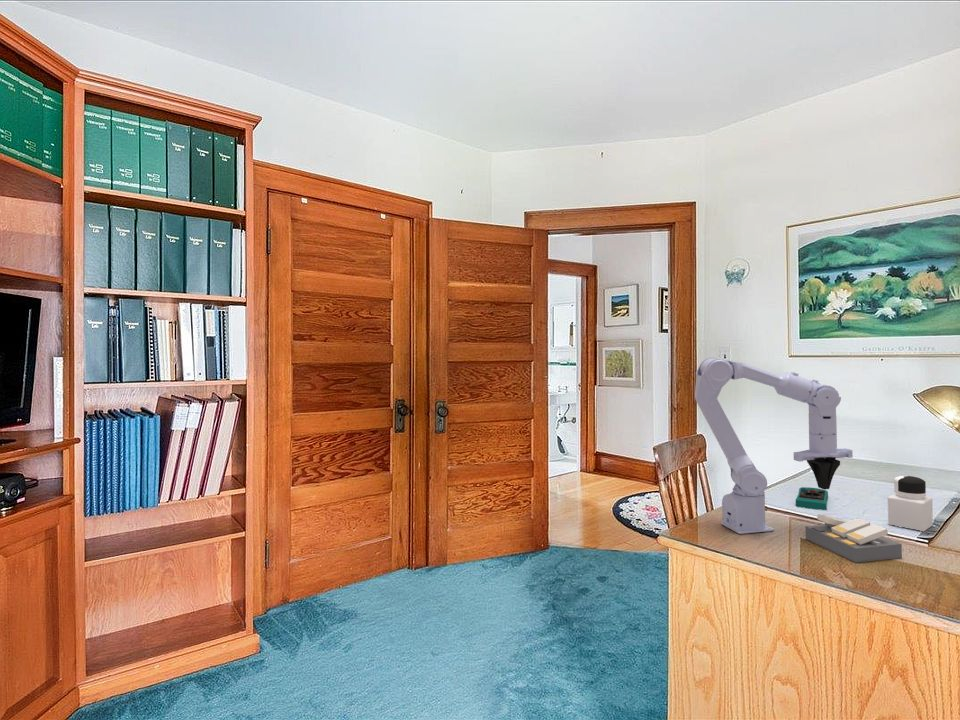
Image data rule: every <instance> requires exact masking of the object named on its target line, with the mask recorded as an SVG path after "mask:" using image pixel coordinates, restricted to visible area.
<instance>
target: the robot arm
mask: <svg viewBox="0 0 960 720" xmlns="http://www.w3.org/2000/svg"><path fill="white" fill-rule="evenodd" d="M742 378H743V379H747V380H750V381H752V382H756V383H760V384H763V385H767V386H769V387H772V388H774V390H775V392H776V393H777V394H778V395H779V396H782V397H786V398H787V399H792V400H794V401H798V402H801V403H804V404H807V405H808V446H809V447H808V449H805V450H801V451H800V450H799V451H794V452H793V461H795V462H801V463H802V462H804V461H806V463H807V464H808V465H809V467H810V469H811V470H812V473H813V475H814V477H815V481H816V484H817V487H818V489H823V490H830V487H831V485H832V480H833V477H834V475H835V473H836V472H837V470H838V468H839V467H840V466H841V460H839V459H841V458H847V459H850V458H851V459H852V458H853V449H850V448H837V447H838V434H837V433H838V432H837V431H838V430H837V425H838V423H837V407H838V406H839V405H840V403H841V400H842V397H841V396H840V394H839V392H838V390H837V389H836V388H835V387H833V386H830V385H827V384H821V383H819V380H817V379H812V380H811V379H808V378H805V377H801V376H799V373H796V372H793V371H792V372H790V373H789V372H784V373H782V374H780V375H778V374H775V373H772V372H769V371H767V370H764V369H761V368H758V367H756V366H753V365H750V364H747V363H745V362H741V361H740V362H739V361H734V360H726V359H725V358H716V357H707V358H704V359H703V360H702V361H701V363H700V364H699V366H698V368H697V370H696V372H695V388H694V399H695V402H696V403H697V406H698V407H699V409H700V411H701V412H702V415H703V417H704V419H705V420H706V423H707V424H708V427H709V428H710V430H711V432H712V434H713V435H714V438H715V439H716V441H717V443H718V445H719V447H720V449H721V451H722V452H723V454H724V457H725V458H726V460H727V465H728V467H729V470H730V479H731V480H732V481H733V482H734V486H733V488H732V491H731V493H727V494H725V495H723V496H722V499H721V515H722V516H721V517H722V519H721V520H722V521H720V525H723V526H724V527H726V528H727V529H730V530H731V531H733V532H735V533H737V534H740V535H742V534H754V533H762V532H773V531H775V528H773V527H771V526H768V525H767V524H766V500H765V499H766V498H765V497H766V493H765V491H766V489H767V488H768V481H767V480H768V479H767V478H766V477H767V476H765V474H763V473H762V472H761V471H759V470H758V469H757V467H756V466H755V463H754V462H753V461H752V460H751V458H750V457H749V456H748V454H747V452H746V450H745V449H744V447H743V445H742V443H741V441H740V439H739V437H738V435H737V434H736V431H735V430H734V428H733V426H732V424H731V422H730V420H729V418H728V417H727V415H726V413H725V411H724V410H723V409H724V408H723V407H722V405H721V403H720V402H719V400H718V398H719V395H720V393H721V391H722V390H723V389H722V388H724V386H725V385H726V384H727V383H728V382H730V380H734V381H735V380H739V379H742Z"/></svg>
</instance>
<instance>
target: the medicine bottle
mask: <svg viewBox="0 0 960 720" xmlns="http://www.w3.org/2000/svg"><path fill="white" fill-rule="evenodd" d="M893 487H894V489H893V492H894V493H892V494H891V495H889V496H888V497H887V523H888V525H889V524H890V525H889V526H892V525H895V526H894V527H897V526H901V527H900V528H902V527H906V528H911V529H916V530H920V531H919V532H921V531H923V532H925V531H927V530H929V528H931V527H932V526H933V525H934V523H933V522H934V519H933V516H934V515H933V514H934V513H933V510H934V509H933V497H931V496H926V495H927V494H926V493H927V491H926V490H927V489H926V487H927V486H926V481H925V479H922V478H920V477H918V476H917V477H916V476H911V475H898V476H895V477H894V479H893ZM906 528H905V529H906ZM911 529H910V530H911ZM916 530H915V531H916ZM923 532H922V533H923Z"/></svg>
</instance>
